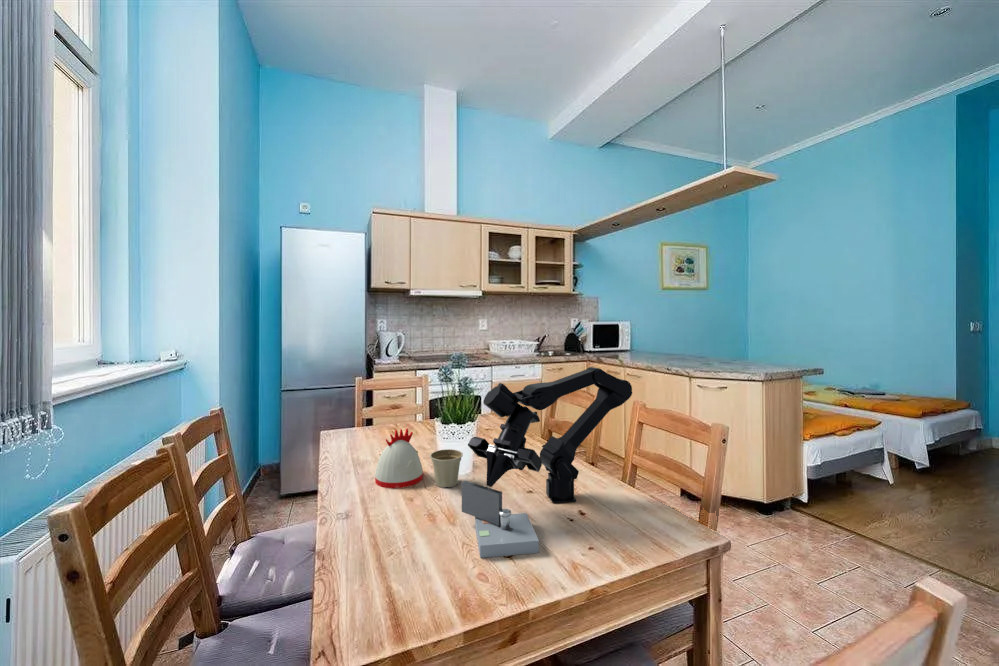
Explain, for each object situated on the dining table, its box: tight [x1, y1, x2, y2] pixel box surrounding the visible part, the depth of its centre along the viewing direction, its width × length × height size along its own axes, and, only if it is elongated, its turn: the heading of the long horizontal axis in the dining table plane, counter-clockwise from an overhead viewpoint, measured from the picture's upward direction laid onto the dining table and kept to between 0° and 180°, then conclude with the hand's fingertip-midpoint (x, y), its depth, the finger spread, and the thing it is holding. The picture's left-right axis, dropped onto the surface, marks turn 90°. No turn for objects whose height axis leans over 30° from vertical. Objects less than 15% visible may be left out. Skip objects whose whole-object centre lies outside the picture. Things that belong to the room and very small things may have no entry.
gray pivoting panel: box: [461, 480, 512, 529], centre depth 91 cm, size 13×3×7 cm, turn 53°
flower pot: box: [429, 448, 464, 488], centre depth 117 cm, size 9×9×9 cm
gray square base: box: [474, 512, 540, 559], centre depth 87 cm, size 12×12×3 cm
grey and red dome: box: [374, 428, 424, 489], centre depth 121 cm, size 14×14×15 cm
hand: (488, 486), depth 93 cm, fingers closed
